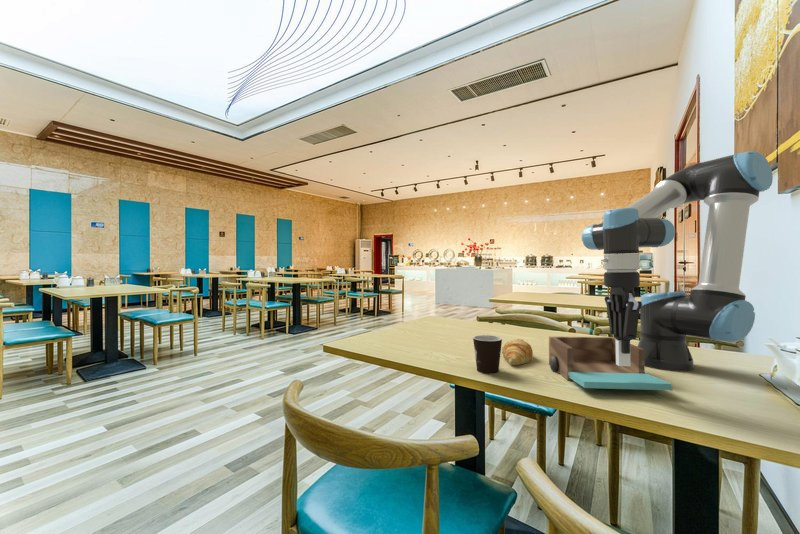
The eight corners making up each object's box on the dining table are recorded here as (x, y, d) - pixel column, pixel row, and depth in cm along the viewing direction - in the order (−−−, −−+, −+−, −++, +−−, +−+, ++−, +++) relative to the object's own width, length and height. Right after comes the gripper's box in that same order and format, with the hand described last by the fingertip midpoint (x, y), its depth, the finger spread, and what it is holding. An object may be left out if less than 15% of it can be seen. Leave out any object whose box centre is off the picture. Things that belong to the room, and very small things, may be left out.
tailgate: (645, 373, 94) (671, 383, 83) (645, 378, 94) (672, 390, 83) (568, 371, 96) (584, 381, 85) (568, 376, 96) (584, 387, 85)
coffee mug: (498, 376, 100) (498, 342, 100) (469, 372, 105) (469, 339, 105) (507, 366, 110) (507, 335, 110) (480, 362, 115) (480, 332, 115)
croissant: (522, 379, 108) (534, 358, 106) (493, 361, 112) (504, 340, 110) (529, 361, 127) (539, 343, 125) (503, 346, 131) (514, 328, 129)
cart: (619, 365, 110) (618, 337, 110) (649, 382, 94) (649, 349, 94) (544, 364, 112) (544, 336, 112) (562, 380, 97) (562, 348, 97)
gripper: (593, 270, 94) (595, 358, 94) (618, 272, 81) (620, 373, 81) (623, 270, 93) (625, 358, 93) (653, 271, 80) (655, 373, 80)
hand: (623, 365), depth 87 cm, fingers closed
